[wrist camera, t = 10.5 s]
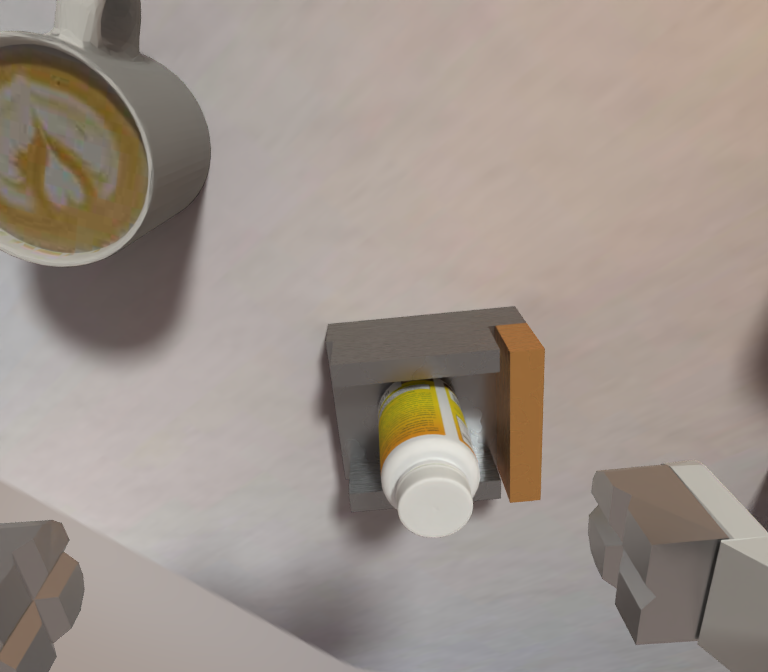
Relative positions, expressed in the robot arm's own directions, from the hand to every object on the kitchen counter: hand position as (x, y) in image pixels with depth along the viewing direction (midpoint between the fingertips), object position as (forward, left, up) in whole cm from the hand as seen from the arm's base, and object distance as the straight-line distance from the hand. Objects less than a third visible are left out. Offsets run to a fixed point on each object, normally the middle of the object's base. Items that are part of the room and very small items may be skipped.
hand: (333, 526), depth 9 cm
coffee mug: (-12, +6, -29) cm, 33 cm away
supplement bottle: (+3, -14, -26) cm, 30 cm away
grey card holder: (+4, -14, -29) cm, 33 cm away
